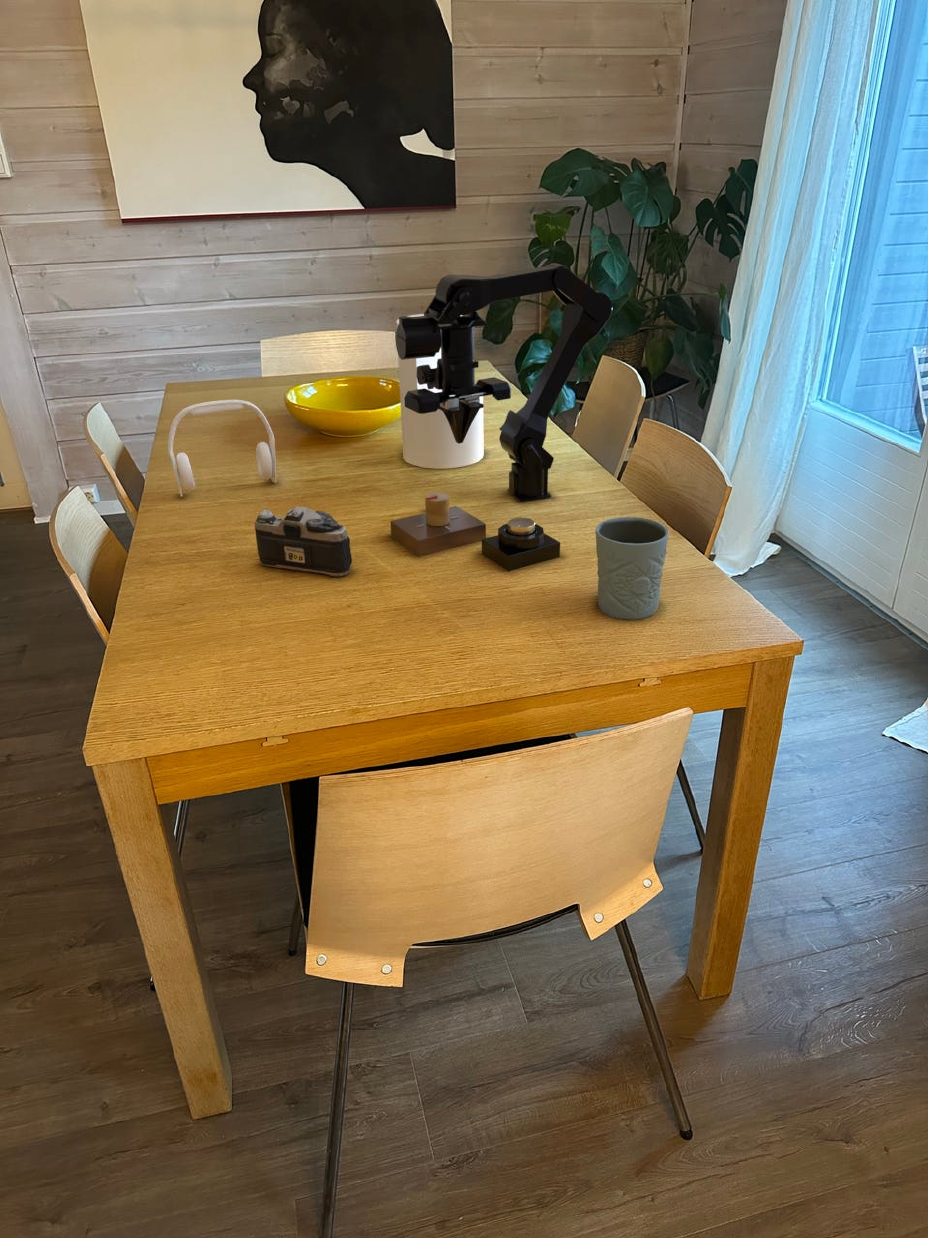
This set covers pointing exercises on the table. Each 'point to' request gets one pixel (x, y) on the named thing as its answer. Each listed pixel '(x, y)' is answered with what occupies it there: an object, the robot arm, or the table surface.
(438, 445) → the cylinder
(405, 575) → the table surface
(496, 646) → the table surface
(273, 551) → the camera
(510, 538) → the switch block
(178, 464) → the headset
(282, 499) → the table surface
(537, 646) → the table surface
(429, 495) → the volume knob
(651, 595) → the grey embossed cup
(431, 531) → the console
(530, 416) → the robot arm
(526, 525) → the power button
